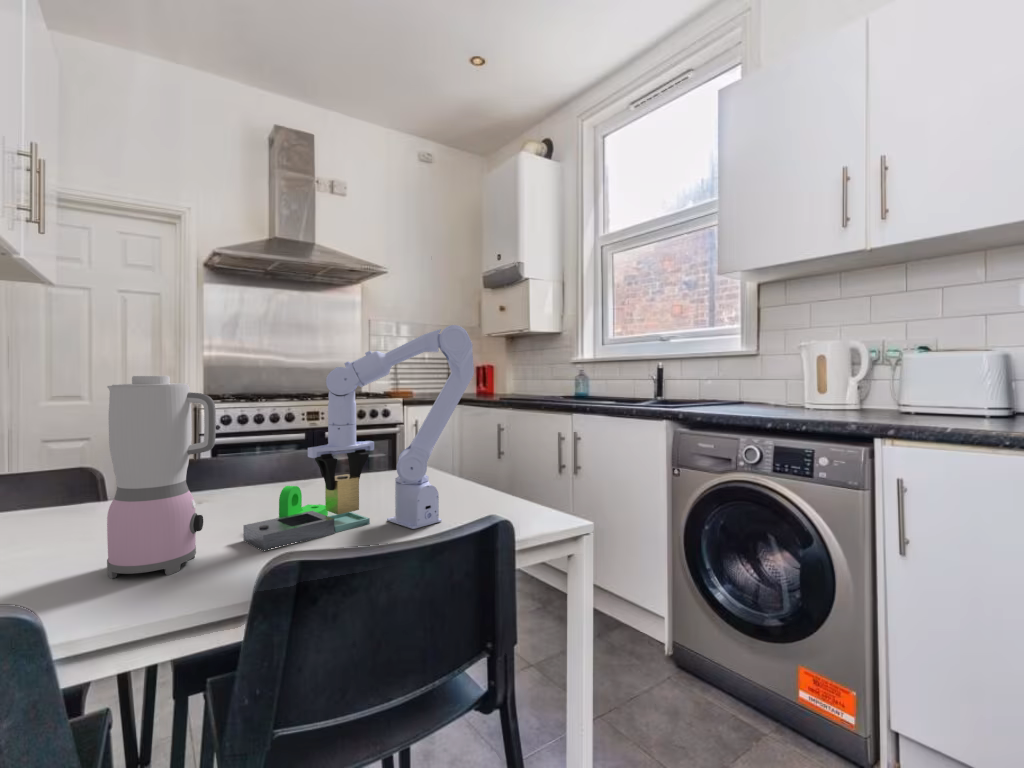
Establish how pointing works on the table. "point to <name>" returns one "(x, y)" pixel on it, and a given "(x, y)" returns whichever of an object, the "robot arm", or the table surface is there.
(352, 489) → the block
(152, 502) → the blender
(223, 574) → the table surface
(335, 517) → the tray
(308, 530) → the grey slotted block
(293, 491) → the mechanical part
